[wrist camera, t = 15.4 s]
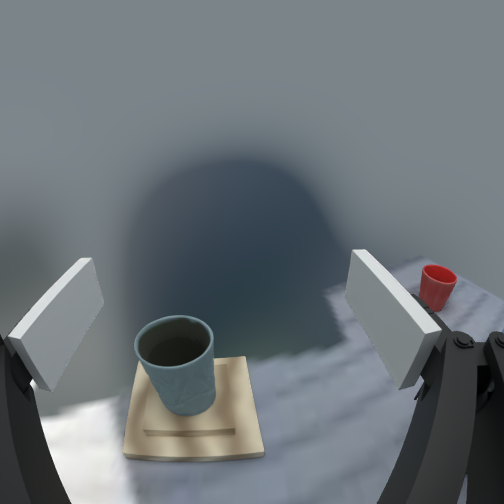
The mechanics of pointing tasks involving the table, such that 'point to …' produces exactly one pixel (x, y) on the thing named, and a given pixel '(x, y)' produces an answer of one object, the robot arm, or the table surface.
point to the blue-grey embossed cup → (179, 362)
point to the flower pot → (436, 286)
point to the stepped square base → (195, 421)
